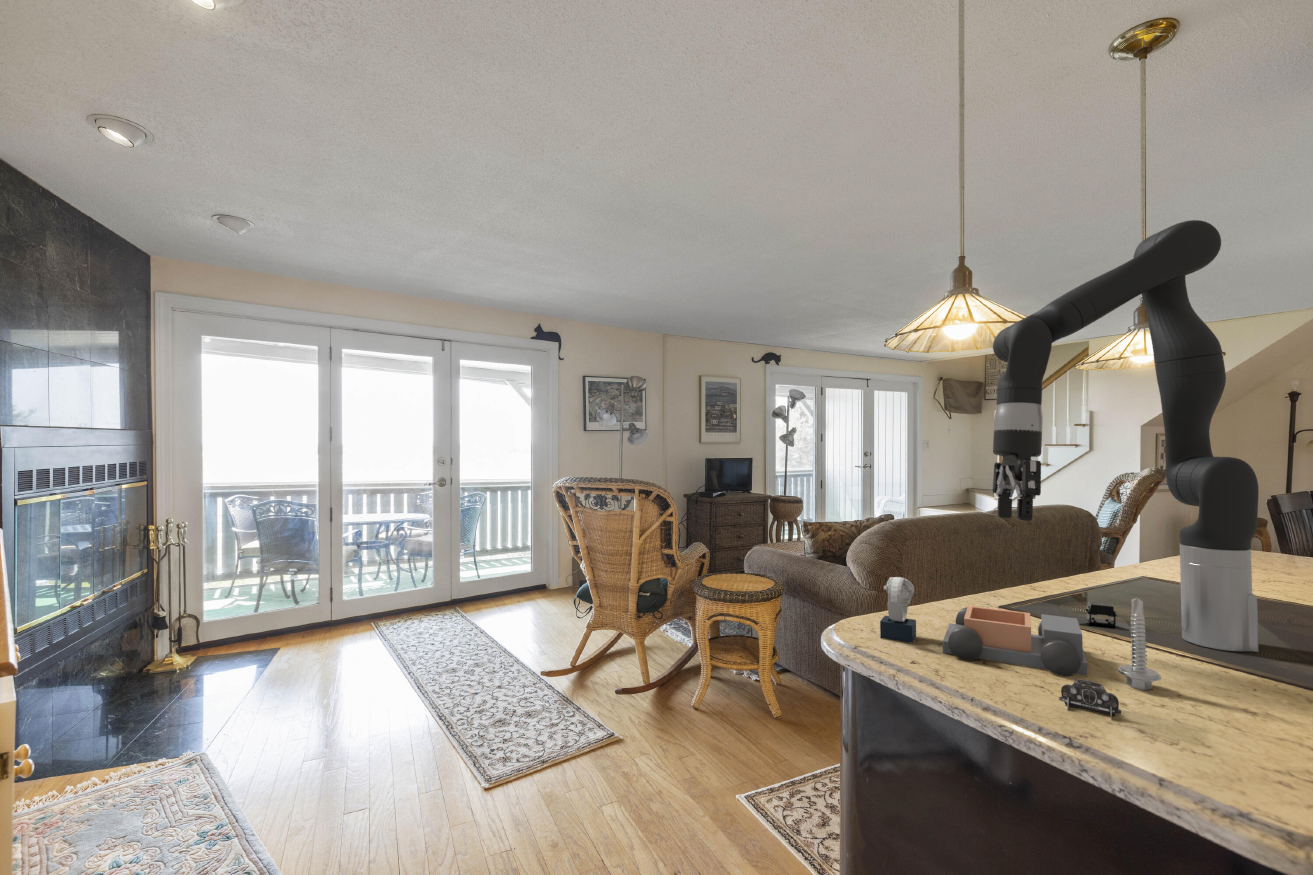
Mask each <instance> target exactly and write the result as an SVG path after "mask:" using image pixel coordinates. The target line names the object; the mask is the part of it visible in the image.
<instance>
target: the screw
mask: <svg viewBox="0 0 1313 875" xmlns="http://www.w3.org/2000/svg"><path fill="white" fill-rule="evenodd" d="M1130 616H1131V617H1130V618H1129V620H1130V622H1129V623H1130V628H1131V631H1130V633H1131V634H1130V636H1131V638H1130V640H1131V642H1130V644H1131V646H1130V648H1131V650H1130V652H1131V654H1130V656H1131V658H1130V660H1131V662H1130V664H1123V665H1120V666H1119V667H1118V668H1117V671H1118V672H1117V673H1119V674H1121V675H1123V676H1124V677H1126V684H1127V685H1128V686H1130V687H1131V688H1132V689H1136V690H1142V691H1149V690H1153V682H1157V681H1161V680H1162V676H1161V674H1160V673H1159V672H1157V671H1156V670H1154V669H1152V668H1149V667H1147V665H1148V663H1147V661H1148V659H1147V657H1148V655H1147V652H1148V651H1147V650H1146V649H1147V648H1148V647H1147V646H1146V645H1147V642H1146V641H1147V638H1146V637H1147V634H1146V633H1147V630H1146V628H1147V626H1146V624H1147V621H1145V620H1146V618H1145V616H1144V601H1143V599H1141V598H1139V597H1135V598H1132V599H1131V614H1130Z"/></svg>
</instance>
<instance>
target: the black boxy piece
mask: <svg viewBox="0 0 1313 875" xmlns="http://www.w3.org/2000/svg"><path fill="white" fill-rule="evenodd" d="M1114 608H1115V607H1114V606H1113V604H1111V603H1110V602H1100V603H1099V602H1098V601H1091V600H1090V601H1089V600H1088V601H1087V605H1086V608H1085V612H1086V618H1081V617H1080V618H1079V617H1076V618H1077V621H1078V623H1079V626H1085V627H1093V628H1094V627H1095V628H1103V629H1110V630H1120V631H1127V632H1128V631H1129V632H1131V625H1129V624H1128V623H1125V622H1116V621H1117V620H1116V619H1117V618H1116V617H1118V615H1117V614H1116V611H1115V609H1114ZM1093 615H1095V616H1097V615H1100V616H1101V615H1102V616H1107V617H1110V619H1109V618H1105V619H1104V618H1103V619H1102V618H1095V617H1092V616H1093Z"/></svg>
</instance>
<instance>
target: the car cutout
mask: <svg viewBox="0 0 1313 875" xmlns="http://www.w3.org/2000/svg"><path fill="white" fill-rule="evenodd" d="M1060 692H1061V693H1060V694H1061V695H1060V696H1059V698H1058V701H1060V702H1063V703H1064V705H1065V706H1066V711H1068V710H1069V707H1070V708H1076V709H1078V710H1079V709H1080V710H1083V711H1089V712H1092V713H1096V714H1102V715H1105V716H1110V718H1112V717H1116V714H1117V715H1120V714H1122V710H1121V709H1120V708H1119V706H1120V704H1119V699H1118V696H1116V695H1115V694H1113V693H1112V692H1108V691H1107V690H1106V689H1105V687H1104V685H1103V684H1101V683H1099V682H1097V681H1091V680H1086V679H1075V680H1074V682H1073V683H1071V684H1068V683H1067V684H1063V685H1062V687H1061V689H1060Z"/></svg>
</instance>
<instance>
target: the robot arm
mask: <svg viewBox="0 0 1313 875" xmlns="http://www.w3.org/2000/svg"><path fill="white" fill-rule="evenodd" d="M1221 246H1222V238H1221V234H1220V232H1219V230H1218V229H1217V228H1216V227H1215V226H1214V225H1213V224H1211V223H1210V222H1207V221H1203V220H1199V219H1192V220H1185V221H1181V222H1178V223H1175V224H1173V225H1170V226H1169V227H1166V228H1164V229H1162V230H1160V231H1158V232H1156V233H1153V234H1152V235H1150V236H1148V237H1146V238H1144V240H1142V241H1141V242H1139V244H1138V245H1137V246H1136V248H1135V251H1134V254H1133V257H1132V259H1130V260H1127V261H1126V262H1125V263H1122V264H1121V265H1118V266H1117V267H1115V268H1113V269H1111V270H1109V271H1106V272H1104V273H1102V274H1101V275H1098V276H1096V277H1095V278H1092V279H1090V280H1088V281H1085V282H1084V283H1082V284H1080V285H1078V286H1076V287H1075V288H1073V289H1071V290H1069V291H1067V292H1066V293H1064V294H1062V295H1060V296H1058V297H1057V298H1055V299H1054V300H1052V301H1051V302H1049V303H1048V304H1046V305H1045V306H1043V307H1042V308H1040V309H1039V310H1038V311H1036V312H1033V313H1032V314H1030V315H1028V316H1026V317H1023V318H1022V319H1020V320H1018V321H1016V322H1015V323H1012V324H1011V325H1009V326H1006V327H1004V328H1003V329H1001V330H1000V331H999V332H998V333H997V335H996V336H995V338H994V340H993V342H992V351H993V353H994V355H995V357H996V358H998V360H1000V361H1002V362H1005V363H1006V369H1005V371H1004V372H1003V373H1002V375H1000V377H999V378H998V380H997V387H996V388H997V389H996V406H995V407H996V408H995V411H994V412H995V413H994V417H993V418H994V419H993V438H992V439H993V440H992V441H993V444H992V454H994V455H996V456H1001V457H1002V460H1001V462H995V463H993V477H992V481H993V482H992V494H995V496H996V497H997V514H996V515H997V517H998V518H1003V519H1004V518H1005V519H1010V518H1012V515H1013V514H1012V512H1013V511H1012V510H1013V495H1014V493H1016V495H1017V500H1016V502H1017V503H1016V519H1017V520H1019V521H1027V522H1028V521H1029V522H1030V521H1032V520H1033V512H1034V511H1033V509H1034V508H1033V507H1034V506H1033V505H1034V500H1035V499H1036V497H1037V496H1038V497H1039V496H1040V495H1041V493H1042V489H1041V488H1042V462H1041V461H1040V460H1036V459H1035V460H1034V459H1032V458H1037V457H1040V456H1041V455H1042V446H1043V445H1042V444H1043V443H1042V442H1043V422H1044V421H1043V410H1042V409H1043V408H1042V402H1043V380H1044V377H1045V374H1046V371H1047V368H1048V364H1049V360H1050V356H1051V352H1052V346H1053V343H1055V342H1057V341H1058V340H1061V339H1064V338H1066V337H1069V336H1071V335H1073V334H1074V333H1077V332H1079V331H1081V330H1082V329H1085V327H1086V328H1087V327H1088V326H1089V325H1091V324H1092V323H1095V322H1096V321H1098V320H1099V319H1101V318H1103V317H1105V316H1106V315H1109V313H1111V312H1113V311H1114V310H1116V309H1118V308H1119V307H1122V306H1123V305H1125V304H1126V303H1129V301H1131V300H1133V299H1134V298H1137V297H1138V296H1141V298H1142V301H1143V305H1144V309H1145V312H1146V313H1145V314H1146V317H1147V324H1148V328H1149V334H1150V340H1151V346H1152V352H1153V361H1154V370H1155V375H1156V376H1155V377H1156V382H1157V385H1158V391H1159V396H1160V404H1161V412H1162V421H1163V428H1164V442H1165V443H1164V445H1165V447H1164V448H1165V477H1166V483H1167V484H1166V485H1167V487H1168V490H1169V492H1170V494H1171V495H1172V496H1173V498H1174V499H1176V500H1177V501H1178V502H1179V503H1181V504H1184V505H1186V506H1187V505H1188V506H1192V507H1198V516H1197V519H1196V520H1195V522H1194V523H1192V524H1190V525H1187V526H1184V527H1182V528H1181V529H1180V530H1179V533H1178V534H1179V535H1178V536H1179V568H1180V569H1179V570H1180V572H1179V573H1180V576H1179V577H1180V604H1181V605H1180V606H1181V608H1180V609H1181V612H1180V613H1181V626H1180V627H1181V638H1182V639H1183V640H1185V641H1186V642H1189V643H1191V644H1194V645H1197V646H1201V647H1206V648H1211V649H1215V650H1221V651H1229V652H1230V651H1231V652H1254V653H1259V651H1260V650H1259V620H1258V618H1259V617H1258V597H1257V595H1256V594H1254V593H1253V575H1252V572H1253V571H1252V570H1253V568H1252V540H1253V538H1254V537H1255V534H1256V532H1257V529H1258V519H1259V518H1258V513H1259V483H1258V482H1259V481H1258V477H1257V475H1256V472H1255V470H1254V469H1253V468H1252V466H1251V464H1249V463H1247V462H1246V461H1245V460H1243V459H1241V458H1237V457H1234V456H1233V457H1232V456H1214V455H1213V452H1212V451H1213V450H1212V444H1211V437H1210V428H1211V422H1212V419H1213V416H1214V414H1215V412H1216V410H1217V407H1218V405H1219V403H1220V400H1221V398H1222V395H1223V394H1224V392H1225V391H1224V390H1225V387H1226V381H1227V375H1226V374H1227V373H1226V367H1225V361H1224V355H1223V349H1222V346H1221V343H1220V341H1219V338H1218V337H1217V335H1216V334H1215V333H1214V332H1213V331H1212V330H1211V329H1210V327H1209V326H1208V325H1207V324H1206V323H1205V322H1204V321H1203V320H1202V318H1201V317H1200V316H1199V315H1198V314H1197V312H1196V311H1195V310H1194V308H1193V307H1192V304H1191V302H1190V299H1189V295H1188V289H1187V283H1186V276H1188V275H1190V274H1193V273H1196V272H1198V271H1201V270H1202V269H1203V268H1205V267H1207V266H1208V265H1209V264H1211V263H1212V261H1214V260H1215V259H1216V257H1217V256H1218V254H1219V253H1220V250H1221V248H1222V247H1221ZM1015 491H1016V492H1015Z"/></svg>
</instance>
